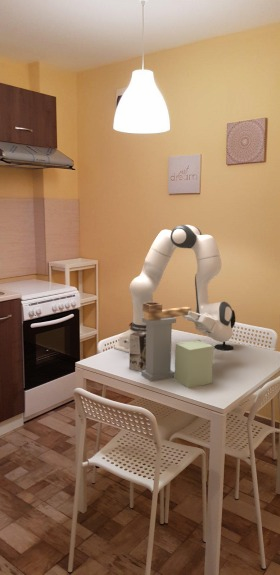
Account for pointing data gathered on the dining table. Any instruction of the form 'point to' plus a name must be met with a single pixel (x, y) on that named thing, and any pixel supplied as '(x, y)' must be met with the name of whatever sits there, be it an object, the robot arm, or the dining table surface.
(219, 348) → the wine glass
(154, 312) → the catapult arm
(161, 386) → the dining table surface
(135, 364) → the coffee box
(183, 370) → the box
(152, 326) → the tower
